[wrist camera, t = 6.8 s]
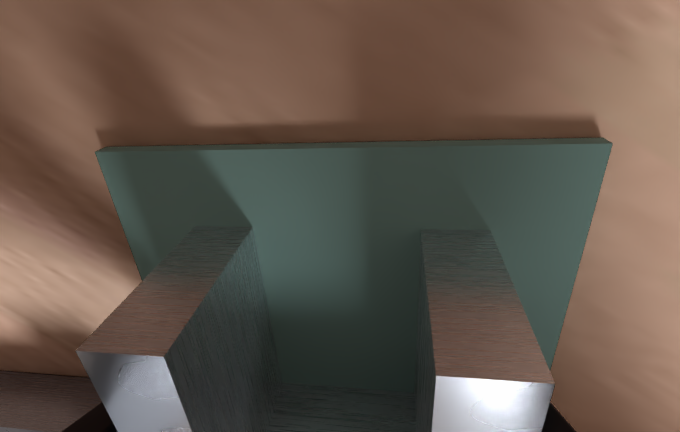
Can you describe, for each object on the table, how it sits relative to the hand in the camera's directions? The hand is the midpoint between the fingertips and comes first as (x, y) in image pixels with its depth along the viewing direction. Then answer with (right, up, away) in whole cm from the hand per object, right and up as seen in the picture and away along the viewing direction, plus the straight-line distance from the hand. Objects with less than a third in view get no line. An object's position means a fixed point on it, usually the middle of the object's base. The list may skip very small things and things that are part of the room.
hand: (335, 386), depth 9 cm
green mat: (0, +1, +2) cm, 2 cm away
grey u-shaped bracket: (0, +1, +1) cm, 2 cm away
